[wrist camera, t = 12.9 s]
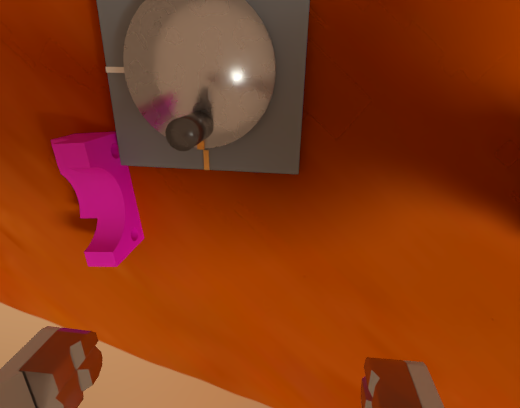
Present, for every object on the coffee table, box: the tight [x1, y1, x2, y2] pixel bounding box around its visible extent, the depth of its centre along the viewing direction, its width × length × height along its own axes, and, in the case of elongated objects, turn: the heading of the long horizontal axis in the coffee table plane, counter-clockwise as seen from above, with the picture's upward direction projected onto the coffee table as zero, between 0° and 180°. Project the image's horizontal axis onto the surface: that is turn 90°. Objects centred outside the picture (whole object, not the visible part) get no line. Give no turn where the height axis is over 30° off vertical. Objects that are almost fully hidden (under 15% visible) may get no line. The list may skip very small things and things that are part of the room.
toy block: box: [51, 132, 144, 267], centre depth 40 cm, size 15×6×8 cm, turn 4°
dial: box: [123, 0, 276, 151], centre depth 31 cm, size 16×16×8 cm
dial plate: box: [96, 0, 310, 174], centre depth 35 cm, size 22×22×2 cm
